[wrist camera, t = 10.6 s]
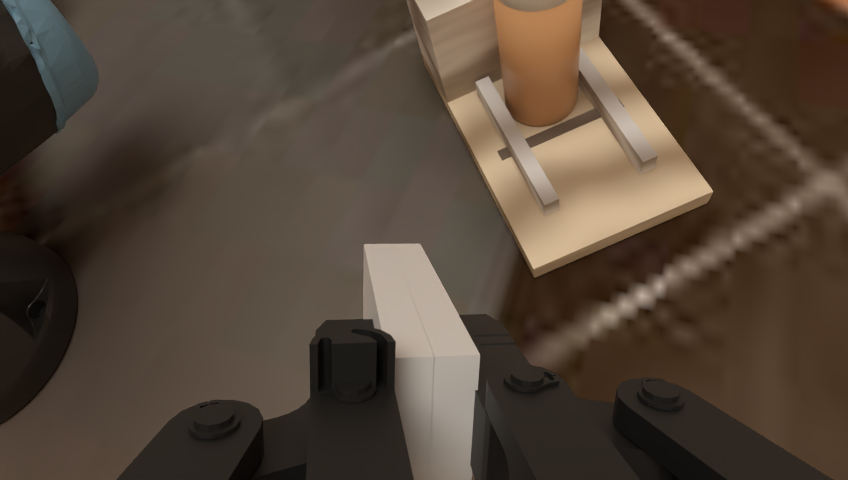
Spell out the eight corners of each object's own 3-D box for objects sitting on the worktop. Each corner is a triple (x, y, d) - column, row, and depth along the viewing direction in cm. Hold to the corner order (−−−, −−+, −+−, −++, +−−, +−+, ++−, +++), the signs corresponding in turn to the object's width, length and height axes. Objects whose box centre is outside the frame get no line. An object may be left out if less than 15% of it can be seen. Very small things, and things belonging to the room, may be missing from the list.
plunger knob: (592, 107, 40) (608, -69, 28) (522, 138, 40) (508, -24, 28) (557, 56, 43) (559, -126, 30) (491, 85, 43) (467, -85, 31)
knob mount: (707, 202, 37) (752, 111, 29) (534, 278, 38) (528, 209, 29) (563, 4, 47) (565, -109, 38) (425, 65, 47) (396, -34, 38)
